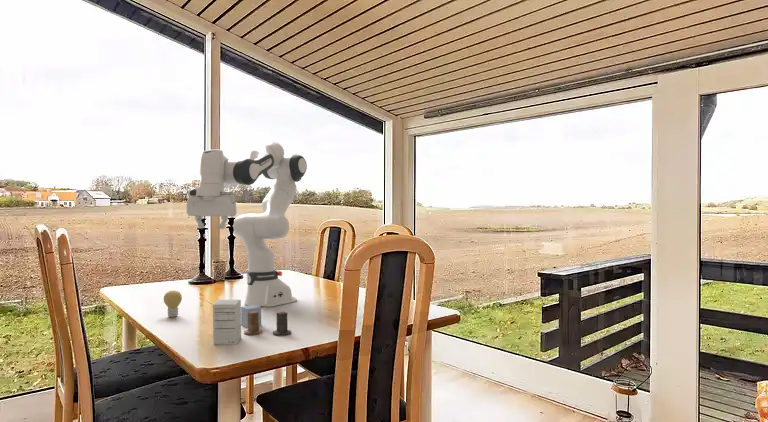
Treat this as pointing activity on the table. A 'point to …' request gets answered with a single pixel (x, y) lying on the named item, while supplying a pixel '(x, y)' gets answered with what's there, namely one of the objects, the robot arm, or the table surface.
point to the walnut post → (253, 324)
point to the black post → (282, 325)
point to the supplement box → (226, 322)
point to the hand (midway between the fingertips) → (211, 228)
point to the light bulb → (172, 302)
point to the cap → (245, 314)
